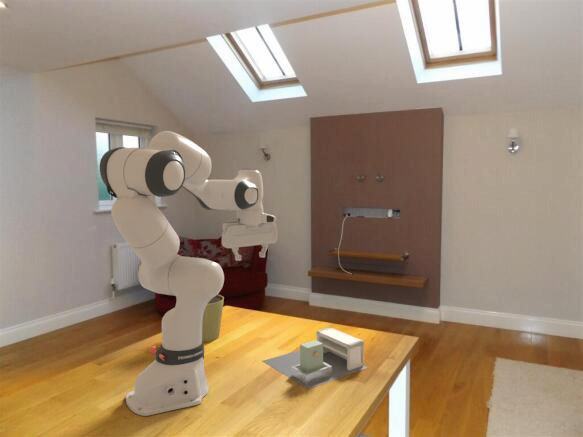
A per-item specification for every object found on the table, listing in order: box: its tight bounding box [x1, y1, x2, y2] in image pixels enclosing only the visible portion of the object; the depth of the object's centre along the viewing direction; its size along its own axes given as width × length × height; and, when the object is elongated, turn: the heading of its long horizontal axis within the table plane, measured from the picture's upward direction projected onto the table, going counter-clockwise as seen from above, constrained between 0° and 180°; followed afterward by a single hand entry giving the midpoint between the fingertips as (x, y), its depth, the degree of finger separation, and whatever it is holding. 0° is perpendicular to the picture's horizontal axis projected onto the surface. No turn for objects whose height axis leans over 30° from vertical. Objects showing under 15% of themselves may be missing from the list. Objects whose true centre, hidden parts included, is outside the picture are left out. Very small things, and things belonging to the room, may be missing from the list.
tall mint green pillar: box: [299, 339, 323, 373], centre depth 137 cm, size 6×4×10 cm
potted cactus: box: [202, 293, 225, 343], centre depth 172 cm, size 15×15×30 cm
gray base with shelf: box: [262, 327, 369, 390], centre depth 146 cm, size 24×24×9 cm
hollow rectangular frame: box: [291, 362, 332, 385], centre depth 138 cm, size 10×7×3 cm
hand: (250, 258), depth 155 cm, fingers open, 8 cm apart
